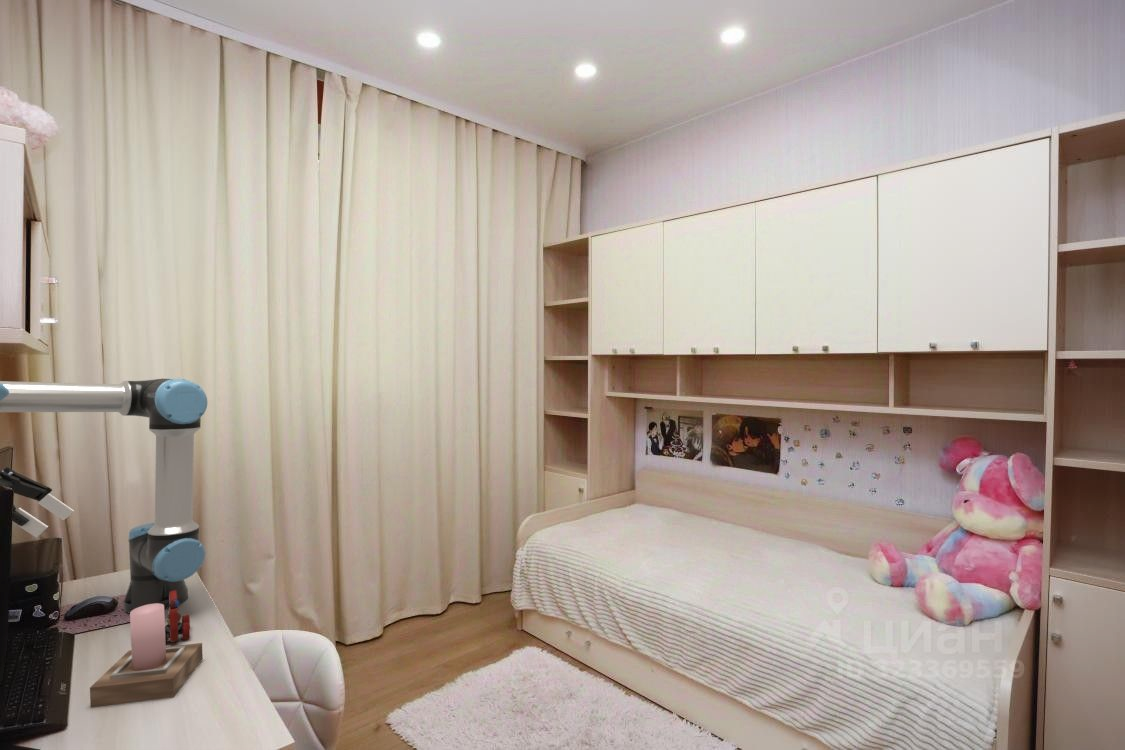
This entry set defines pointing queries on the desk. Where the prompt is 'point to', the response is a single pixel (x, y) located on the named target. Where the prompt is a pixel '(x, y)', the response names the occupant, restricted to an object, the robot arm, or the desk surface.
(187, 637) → the toy fire truck
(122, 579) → the desk surface
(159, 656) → the rose cylinder
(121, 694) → the walnut base
